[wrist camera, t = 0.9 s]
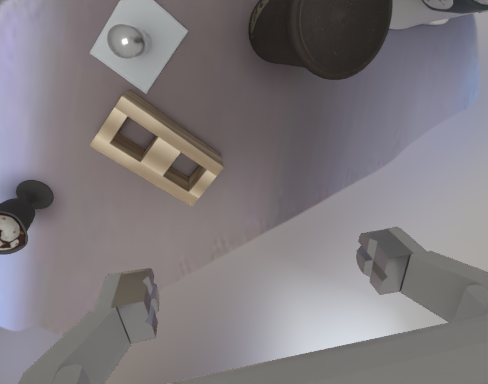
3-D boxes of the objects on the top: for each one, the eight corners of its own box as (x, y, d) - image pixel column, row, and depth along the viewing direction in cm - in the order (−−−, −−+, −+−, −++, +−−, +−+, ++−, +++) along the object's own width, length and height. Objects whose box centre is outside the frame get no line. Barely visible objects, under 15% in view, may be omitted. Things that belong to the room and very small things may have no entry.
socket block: (129, 89, 40) (122, 95, 35) (220, 155, 46) (223, 167, 42) (100, 135, 42) (89, 145, 37) (191, 191, 48) (191, 206, 44)
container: (309, -13, 38) (414, -59, 20) (305, 63, 42) (389, 78, 24) (244, -10, 36) (295, -58, 19) (247, 66, 41) (291, 85, 23)
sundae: (54, 174, 43) (-5, 232, 30) (63, 212, 46) (13, 280, 33) (4, 173, 42) (-80, 234, 29) (16, 213, 45) (-55, 283, 32)
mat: (132, -19, 34) (131, -20, 34) (188, 31, 37) (188, 30, 37) (90, 52, 37) (89, 52, 36) (146, 93, 40) (145, 93, 40)
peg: (135, 22, 36) (117, 16, 27) (156, 40, 37) (145, 39, 28) (122, 43, 37) (101, 43, 28) (143, 59, 38) (129, 65, 29)
